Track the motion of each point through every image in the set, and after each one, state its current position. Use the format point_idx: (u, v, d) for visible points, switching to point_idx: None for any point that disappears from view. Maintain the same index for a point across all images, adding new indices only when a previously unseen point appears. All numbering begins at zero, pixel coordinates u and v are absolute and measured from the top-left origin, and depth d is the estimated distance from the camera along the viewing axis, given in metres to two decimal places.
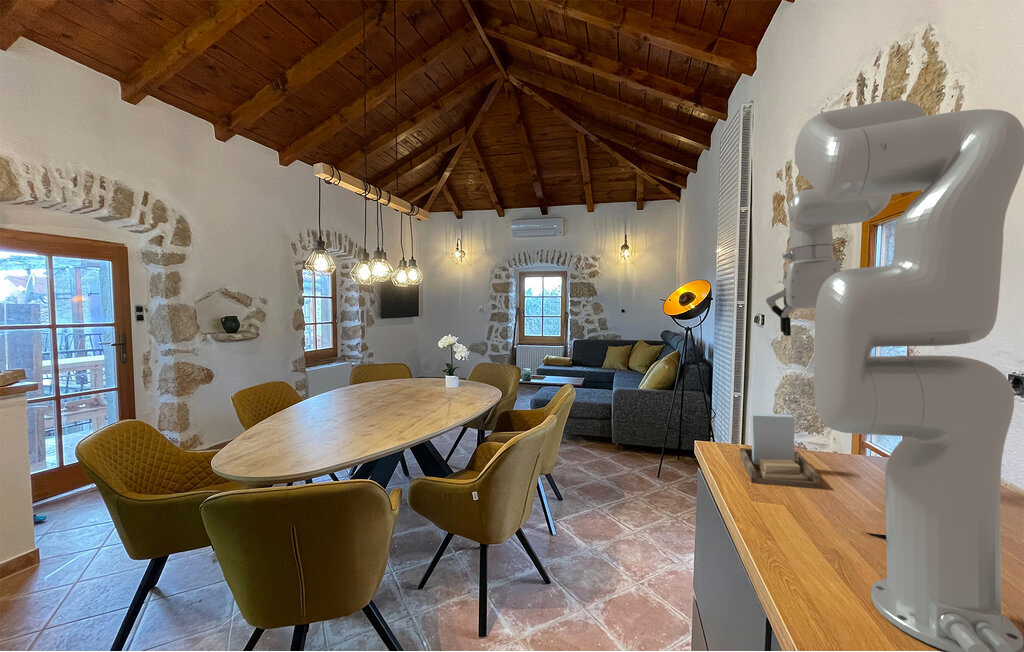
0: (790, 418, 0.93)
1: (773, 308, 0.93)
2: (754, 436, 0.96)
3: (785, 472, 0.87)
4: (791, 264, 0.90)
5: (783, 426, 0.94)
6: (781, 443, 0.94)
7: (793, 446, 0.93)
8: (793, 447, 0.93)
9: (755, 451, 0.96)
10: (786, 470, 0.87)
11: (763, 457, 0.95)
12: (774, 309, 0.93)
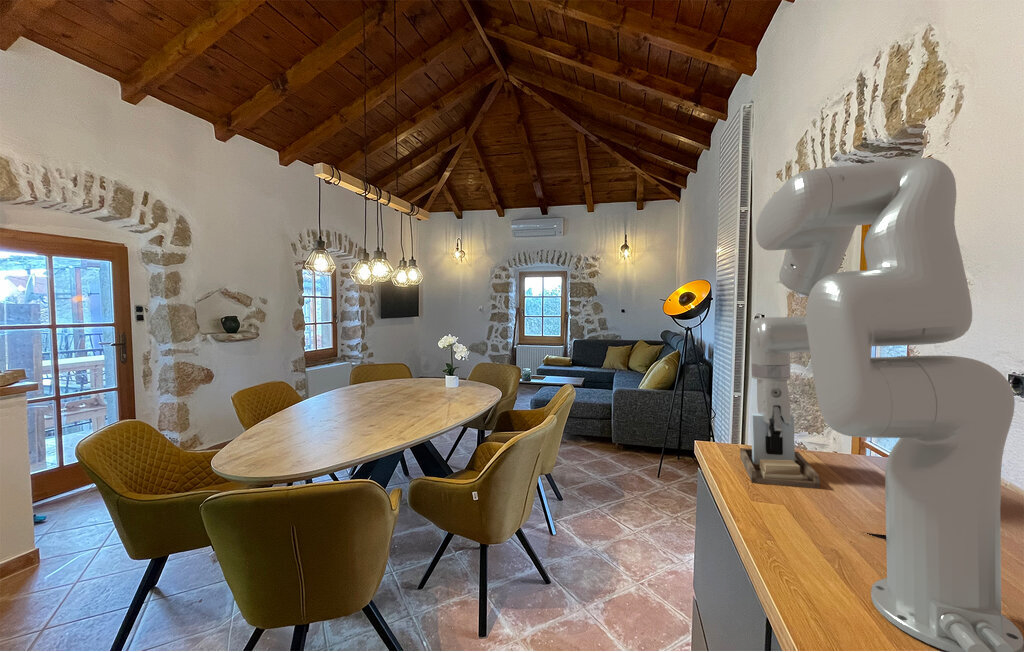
0: None
1: (780, 430, 0.92)
2: (754, 436, 0.96)
3: (785, 472, 0.87)
4: (785, 382, 0.91)
5: (783, 426, 0.94)
6: None
7: (793, 446, 0.93)
8: (793, 447, 0.93)
9: (755, 451, 0.96)
10: (786, 470, 0.87)
11: (763, 457, 0.95)
12: (780, 431, 0.92)
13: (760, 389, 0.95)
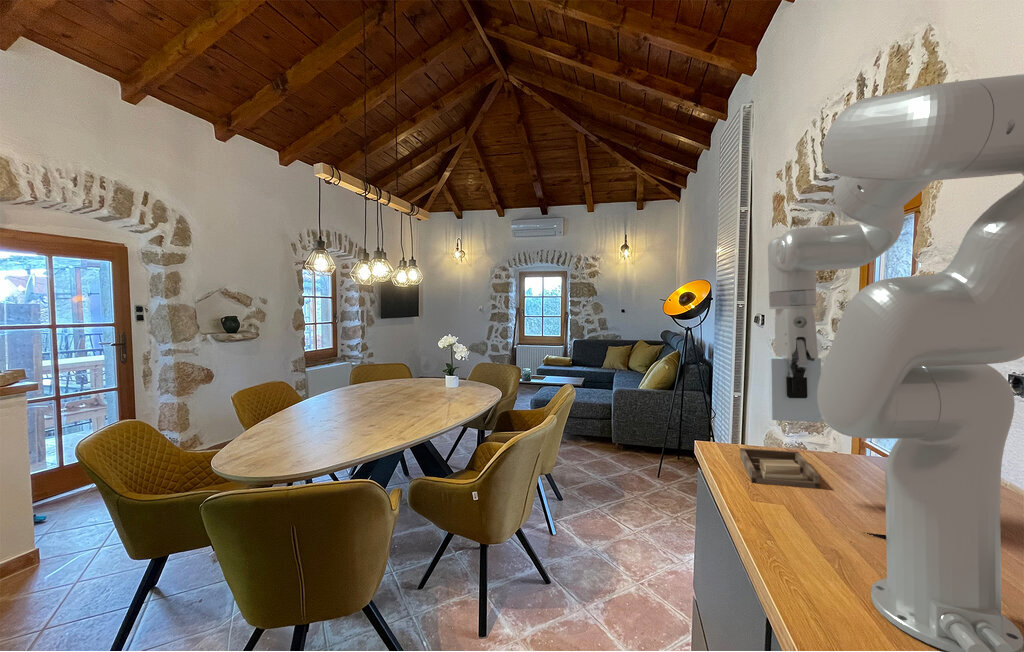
0: (816, 360, 0.78)
1: None
2: (773, 383, 0.81)
3: (785, 472, 0.87)
4: (811, 309, 0.76)
5: (807, 370, 0.79)
6: None
7: None
8: None
9: (773, 400, 0.81)
10: (786, 470, 0.87)
11: (783, 407, 0.81)
12: (805, 368, 0.77)
13: (780, 321, 0.80)
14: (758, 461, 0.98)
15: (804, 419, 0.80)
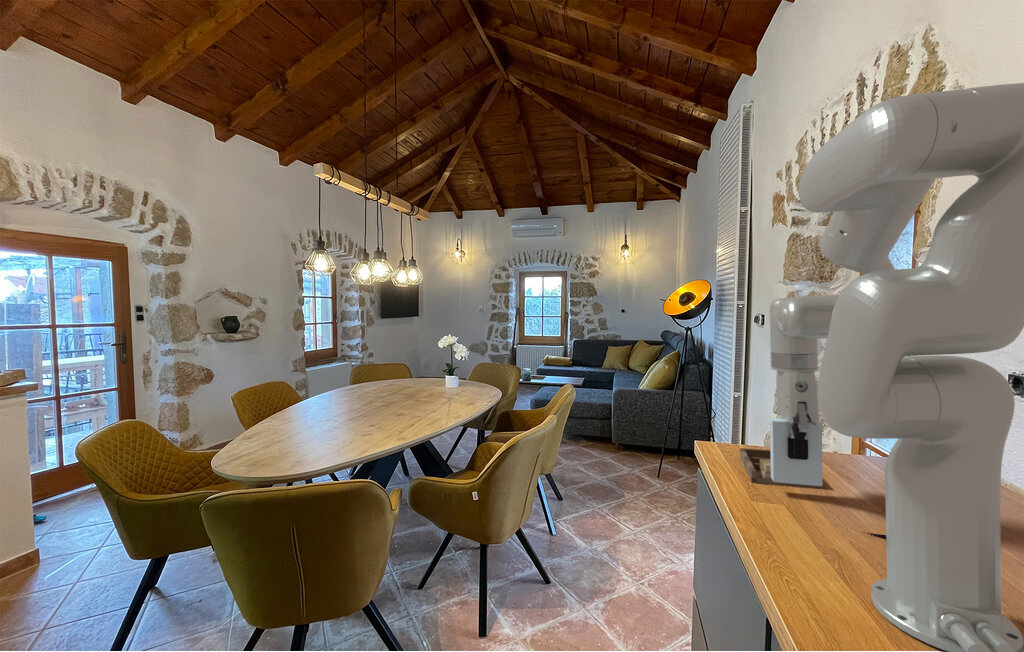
0: (817, 425, 0.79)
1: None
2: (774, 445, 0.82)
3: None
4: (813, 374, 0.76)
5: (808, 434, 0.80)
6: None
7: (821, 458, 0.79)
8: (820, 459, 0.79)
9: (775, 463, 0.82)
10: None
11: (784, 470, 0.81)
12: None
13: (781, 382, 0.80)
14: (758, 461, 0.98)
15: (805, 482, 0.80)
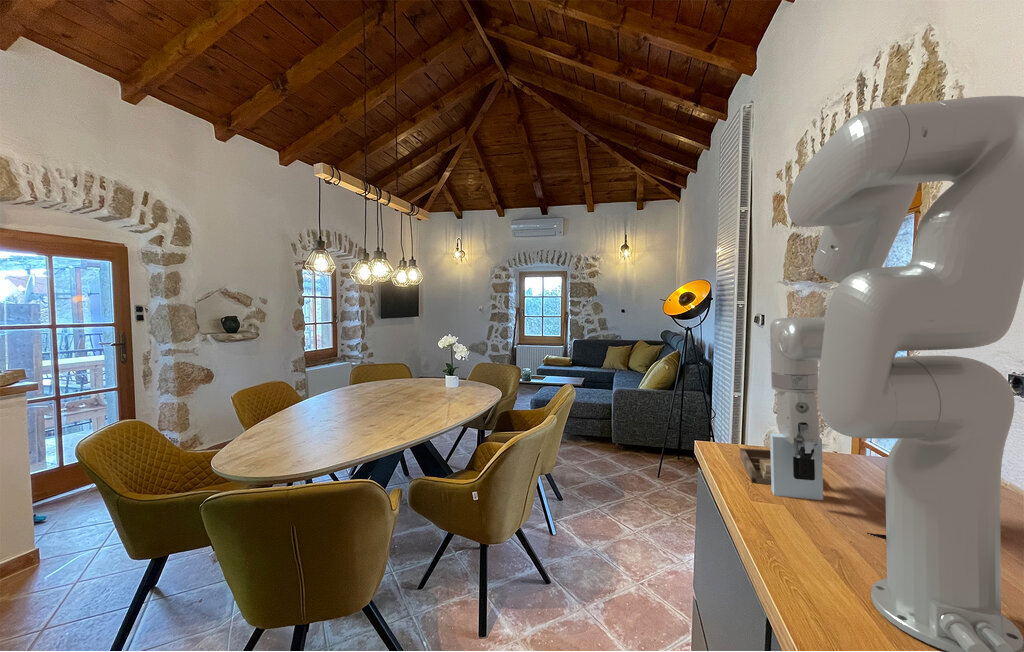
0: None
1: (812, 451, 0.74)
2: (774, 461, 0.82)
3: None
4: (813, 394, 0.76)
5: None
6: None
7: (821, 473, 0.79)
8: (821, 474, 0.79)
9: (775, 478, 0.82)
10: None
11: (785, 485, 0.81)
12: (813, 452, 0.74)
13: (782, 402, 0.80)
14: (758, 461, 0.98)
15: (806, 498, 0.80)
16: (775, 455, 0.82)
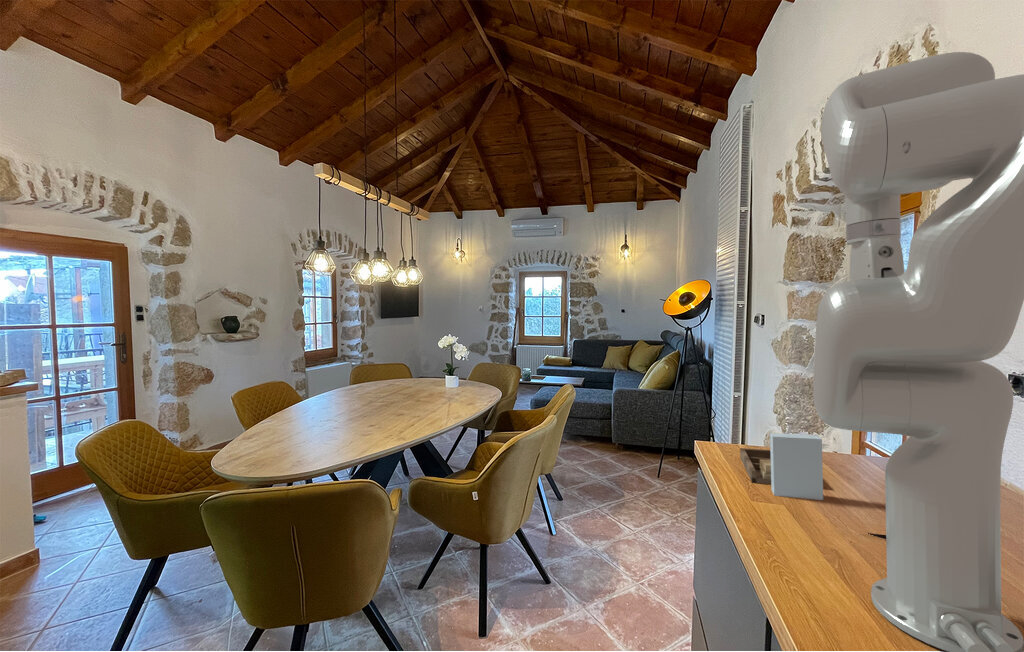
0: (817, 440, 0.79)
1: None
2: (774, 461, 0.82)
3: None
4: (898, 238, 0.72)
5: (809, 449, 0.80)
6: (807, 469, 0.80)
7: (821, 473, 0.79)
8: (821, 474, 0.79)
9: (775, 478, 0.82)
10: None
11: (785, 485, 0.81)
12: None
13: (860, 254, 0.76)
14: (758, 461, 0.98)
15: (806, 498, 0.80)
16: (775, 455, 0.82)
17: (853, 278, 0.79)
